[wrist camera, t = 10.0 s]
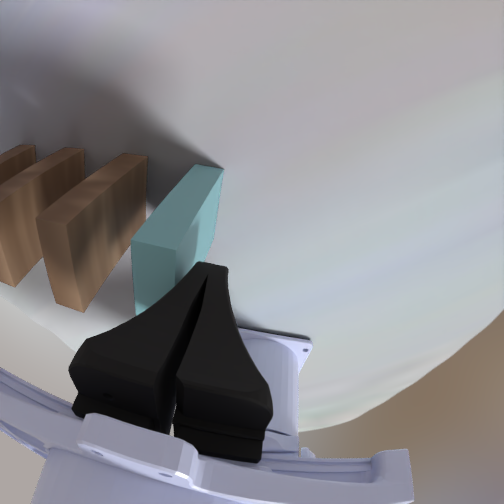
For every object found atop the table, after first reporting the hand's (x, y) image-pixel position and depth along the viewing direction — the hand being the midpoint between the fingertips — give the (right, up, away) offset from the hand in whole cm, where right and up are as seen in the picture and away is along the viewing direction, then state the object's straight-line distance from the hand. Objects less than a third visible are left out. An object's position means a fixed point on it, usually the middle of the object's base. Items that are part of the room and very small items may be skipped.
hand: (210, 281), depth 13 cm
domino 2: (-6, +5, +6) cm, 10 cm away
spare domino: (-1, +4, +6) cm, 8 cm away
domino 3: (-11, +7, +6) cm, 14 cm away
